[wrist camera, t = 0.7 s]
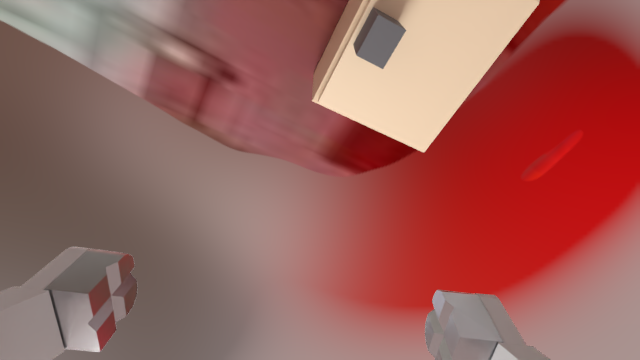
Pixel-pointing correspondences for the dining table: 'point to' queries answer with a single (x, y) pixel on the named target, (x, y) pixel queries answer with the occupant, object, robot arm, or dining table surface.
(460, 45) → the carton lid
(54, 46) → the dining table surface
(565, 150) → the dining table surface
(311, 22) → the dining table surface
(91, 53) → the dining table surface
